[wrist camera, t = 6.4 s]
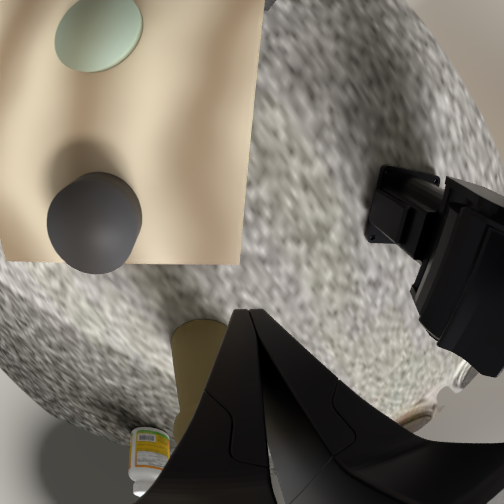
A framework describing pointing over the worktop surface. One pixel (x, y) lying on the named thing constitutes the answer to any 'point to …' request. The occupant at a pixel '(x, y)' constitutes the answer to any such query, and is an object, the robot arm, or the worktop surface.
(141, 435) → the supplement bottle
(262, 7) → the board
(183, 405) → the cork
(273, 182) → the worktop surface
